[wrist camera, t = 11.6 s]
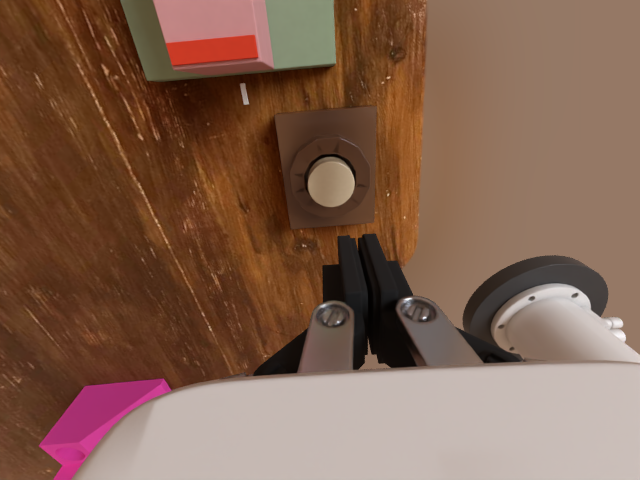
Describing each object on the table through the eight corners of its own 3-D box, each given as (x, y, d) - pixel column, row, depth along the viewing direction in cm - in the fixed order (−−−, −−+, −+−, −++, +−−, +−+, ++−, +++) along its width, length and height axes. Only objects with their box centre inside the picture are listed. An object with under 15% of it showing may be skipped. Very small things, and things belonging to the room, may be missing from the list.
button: (351, 154, 21) (354, 159, 20) (352, 198, 23) (355, 205, 21) (305, 158, 21) (305, 163, 20) (310, 201, 23) (309, 209, 22)
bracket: (118, 423, 45) (69, 506, 36) (85, 385, 40) (18, 471, 31) (188, 417, 44) (156, 500, 35) (163, 378, 40) (119, 463, 31)
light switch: (371, 104, 23) (381, 107, 19) (370, 213, 28) (378, 231, 24) (277, 113, 23) (270, 117, 19) (292, 220, 28) (289, 238, 24)
